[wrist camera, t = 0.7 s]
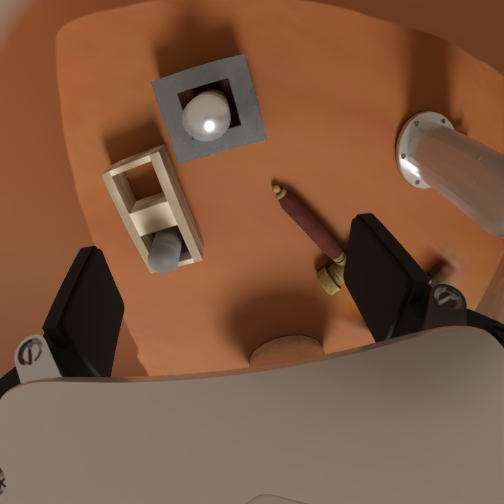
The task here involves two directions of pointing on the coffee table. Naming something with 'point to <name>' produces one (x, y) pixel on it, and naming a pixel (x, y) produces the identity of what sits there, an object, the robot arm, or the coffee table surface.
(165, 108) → the socket
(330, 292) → the gavel
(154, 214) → the rack
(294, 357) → the pottery
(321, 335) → the coffee table surface
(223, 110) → the silver metal cylinder
